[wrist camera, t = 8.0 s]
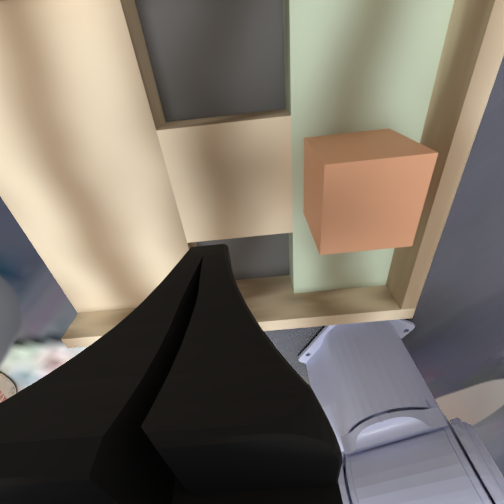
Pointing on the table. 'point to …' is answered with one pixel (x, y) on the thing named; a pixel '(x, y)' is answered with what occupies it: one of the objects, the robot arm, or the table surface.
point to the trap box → (228, 141)
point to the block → (365, 189)
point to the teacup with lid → (6, 388)
